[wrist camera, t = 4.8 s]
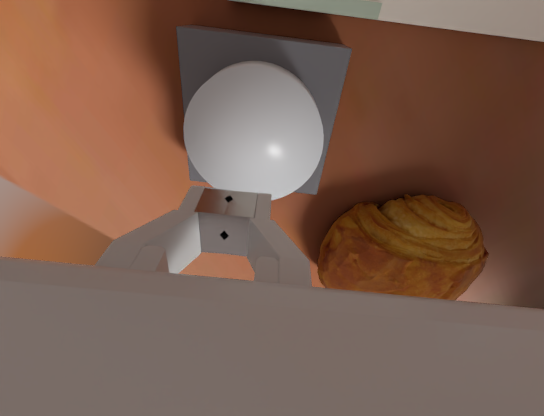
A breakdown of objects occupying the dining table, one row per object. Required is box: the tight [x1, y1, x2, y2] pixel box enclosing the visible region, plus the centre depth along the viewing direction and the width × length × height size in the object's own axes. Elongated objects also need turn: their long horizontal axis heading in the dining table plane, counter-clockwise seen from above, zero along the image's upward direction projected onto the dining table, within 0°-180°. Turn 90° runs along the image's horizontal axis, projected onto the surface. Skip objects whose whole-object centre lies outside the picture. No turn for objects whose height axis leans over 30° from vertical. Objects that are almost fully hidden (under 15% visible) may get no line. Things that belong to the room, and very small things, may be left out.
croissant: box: [317, 194, 489, 300], centre depth 26 cm, size 14×16×8 cm
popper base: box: [176, 25, 352, 195], centre depth 19 cm, size 10×10×3 cm
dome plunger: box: [183, 61, 324, 200], centre depth 17 cm, size 8×8×4 cm
